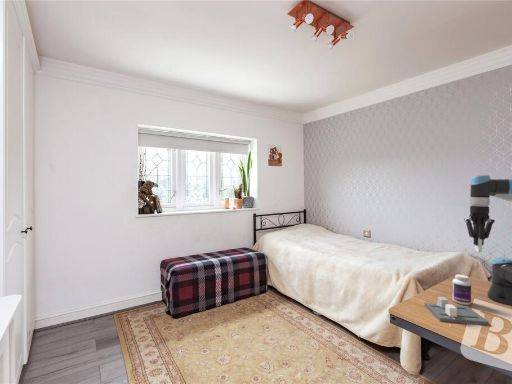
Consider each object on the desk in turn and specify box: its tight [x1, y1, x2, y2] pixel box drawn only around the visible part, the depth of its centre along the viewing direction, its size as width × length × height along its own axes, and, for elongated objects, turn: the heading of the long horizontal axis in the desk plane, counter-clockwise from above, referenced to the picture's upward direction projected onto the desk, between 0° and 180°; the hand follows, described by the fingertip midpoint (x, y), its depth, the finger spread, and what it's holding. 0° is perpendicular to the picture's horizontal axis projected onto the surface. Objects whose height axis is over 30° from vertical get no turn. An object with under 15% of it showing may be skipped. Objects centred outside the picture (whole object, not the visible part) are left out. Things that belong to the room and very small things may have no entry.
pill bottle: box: [451, 273, 472, 306], centre depth 144 cm, size 8×8×14 cm
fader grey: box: [437, 296, 449, 308], centre depth 135 cm, size 3×4×4 cm
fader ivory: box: [445, 303, 457, 317], centre depth 126 cm, size 3×4×4 cm
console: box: [423, 302, 490, 326], centre depth 130 cm, size 20×16×2 cm
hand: (478, 251), depth 136 cm, fingers closed
